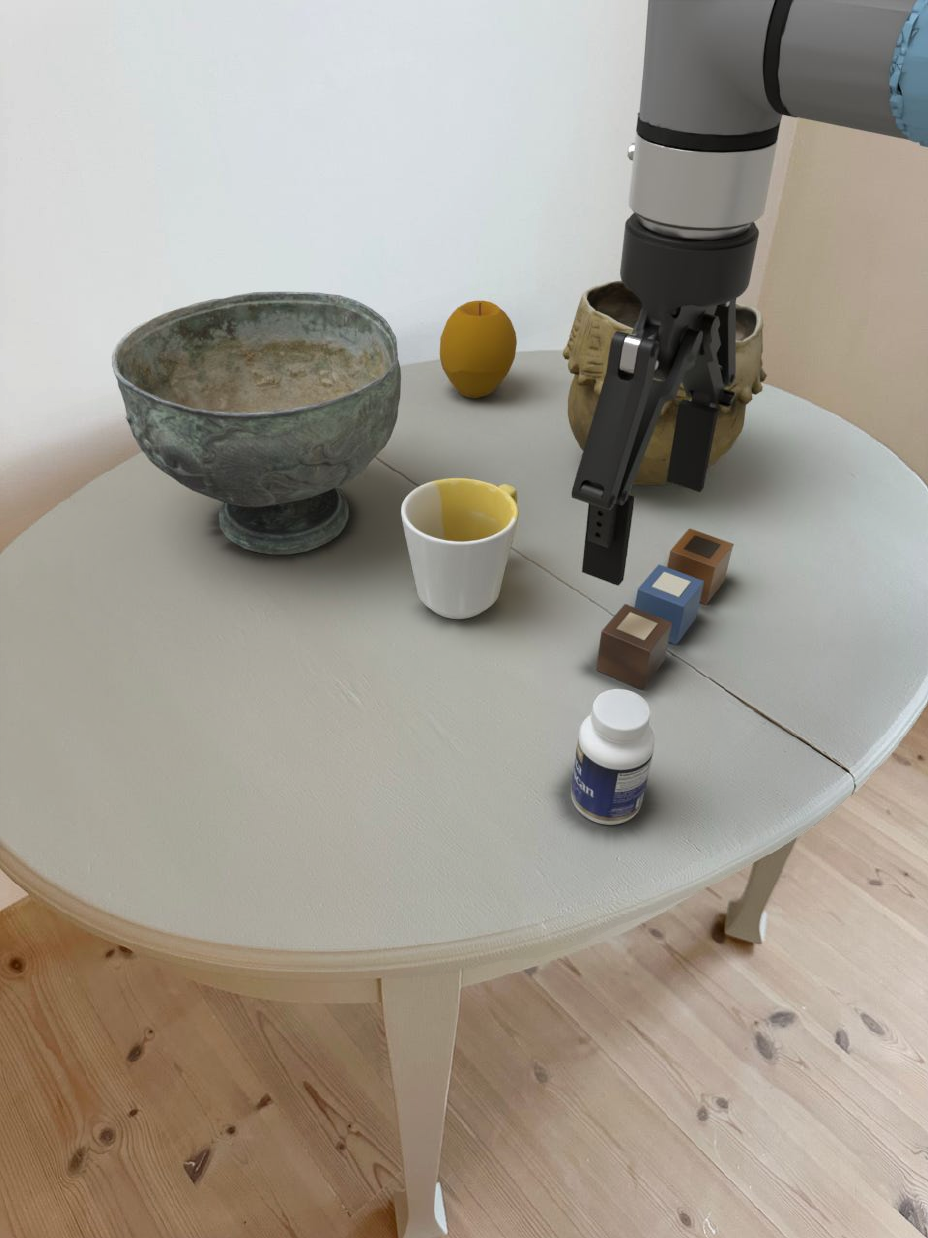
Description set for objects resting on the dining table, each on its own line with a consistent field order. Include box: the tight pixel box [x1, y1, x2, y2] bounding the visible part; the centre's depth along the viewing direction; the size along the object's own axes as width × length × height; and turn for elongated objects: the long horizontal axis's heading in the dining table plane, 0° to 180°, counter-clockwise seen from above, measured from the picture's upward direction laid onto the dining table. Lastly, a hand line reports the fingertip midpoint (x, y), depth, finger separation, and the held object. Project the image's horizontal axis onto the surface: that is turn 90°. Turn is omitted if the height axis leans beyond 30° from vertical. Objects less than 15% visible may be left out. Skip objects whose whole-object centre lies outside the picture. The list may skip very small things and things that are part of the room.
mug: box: [400, 477, 519, 620], centre depth 88 cm, size 14×10×10 cm
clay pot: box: [562, 280, 768, 486], centre depth 102 cm, size 21×21×20 cm
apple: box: [439, 300, 518, 399], centre depth 119 cm, size 10×10×12 cm
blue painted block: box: [634, 563, 704, 646], centre depth 87 cm, size 4×4×5 cm
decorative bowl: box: [111, 291, 402, 555], centre depth 94 cm, size 26×26×20 cm
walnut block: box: [595, 603, 672, 691], centre depth 82 cm, size 4×4×5 cm
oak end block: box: [666, 528, 734, 605], centre depth 91 cm, size 4×4×5 cm
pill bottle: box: [570, 688, 656, 826], centre depth 69 cm, size 5×5×10 cm
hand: (646, 527), depth 68 cm, fingers open, 13 cm apart
